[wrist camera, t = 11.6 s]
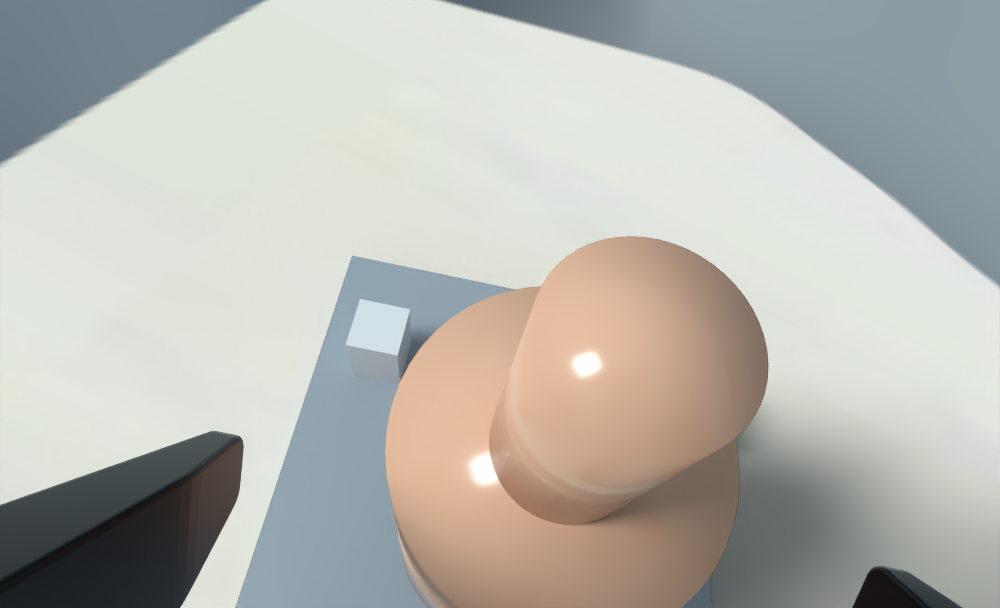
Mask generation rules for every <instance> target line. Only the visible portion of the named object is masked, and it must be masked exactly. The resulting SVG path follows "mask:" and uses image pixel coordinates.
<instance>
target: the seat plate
mask: <svg viewBox="0 0 1000 608" xmlns="http://www.w3.org/2000/svg"><path fill="white" fill-rule="evenodd" d="M512 290H515V289H510V288H505V287H500V286H496V285H491V284H486V283H481V282H476V281H472V280H467V279H462V278H457V277H452V276H447V275H443V274H438V273H433V272H428V271H423V270H419V269H414V268H409V267H404V266H399V265H394V264H390V263H385V262H380V261H375V260H370V259H366V258H361V257H356V256H352V258H351V261H350V264H349V267H348V270H347V273H346V276H345V279H344V282H343V285H342V288H341V291H340V294H339V297H338V300H337V303H336V306H335V309H334V312H333V315H332V318H331V321H330V324H329V327H328V330H327V333H326V336H325V339H324V342H323V345H322V348H321V351H320V354H319V357H318V360H317V363H316V366H315V369H314V372H313V375H312V378H311V381H310V384H309V387H308V390H307V393H306V396H305V400H304V403H303V406H302V409H301V412H300V415H299V418H298V421H297V424H296V427H295V430H294V433H293V436H292V439H291V442H290V445H289V448H288V451H287V454H286V457H285V460H284V463H283V466H282V469H281V472H280V475H279V478H278V481H277V484H276V487H275V490H274V493H273V496H272V499H271V502H270V505H269V508H268V511H267V514H266V517H265V520H264V523H263V526H262V529H261V532H260V535H259V538H258V541H257V544H256V547H255V550H254V553H253V556H252V559H251V562H250V565H249V568H248V571H247V574H246V577H245V580H244V583H243V586H242V589H241V592H240V595H239V598H238V601H237V604H236V607H235V608H428V607H427V606H426V605H425V604H424V603H423V601H422V600H421V599H420V597H419V596H418V594H417V593H416V591H415V590H414V588H413V586H412V584H411V582H410V580H409V578H408V575H407V572H406V569H405V566H404V562H403V557H402V552H401V547H400V542H399V537H398V532H397V526H396V521H395V516H394V511H393V506H392V501H391V496H390V490H389V485H388V480H387V473H386V456H385V448H386V434H387V425H388V420H389V416H390V411H391V406H392V403H393V400H394V397H395V394H396V392H397V389H398V386H399V383H400V381H401V379H402V377H403V375H404V374H405V372H406V370H407V368H408V366H409V364H410V362H411V361H412V360H413V358H414V357H415V355H416V354H417V352H418V351H419V350H420V348H421V347H422V346H423V344H424V343H425V342H426V341H427V340H428V339H429V338H430V337H431V336H432V335H433V334H434V332H435V331H436V330H438V329H439V328H440V327H441V326H442V325H444V324H445V323H446V322H447V321H448V320H449V319H451V318H452V317H453V316H455V315H457V314H458V313H460V312H461V311H463V310H464V309H466V308H468V307H469V306H471V305H473V304H475V303H478V302H480V301H482V300H484V299H486V298H488V297H491V296H495V295H498V294H501V293H504V292H507V291H512ZM710 592H711V575H710V577H709V578H708V579H707V581H706V582H705V583H704V585H703V586H702V588H701V589H700V590H699V591H698V592H697V593H696V594H695V595H694V596H693V597H692V598H691V599H690V600H689V601H688V602H687V603H686V604H685V605H684V606H683V607H682V608H710Z"/></svg>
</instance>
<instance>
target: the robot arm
mask: <svg viewBox="0 0 1000 608" xmlns="http://www.w3.org/2000/svg"><path fill="white" fill-rule="evenodd" d="M243 448H244V445H243V440H242V438H241V437H240V436H237V435H233V434H228V433H223V432H218V431H211V432H207V433H205V434H202V435H199V436H196V437H193V438H190V439H187V440H185V441H182V442H179V443H176V444H173V445H170V446H167V447H165V448H162V449H159V450H156V451H153V452H150V453H147V454H145V455H142V456H139V457H136V458H133V459H130V460H127V461H125V462H122V463H119V464H116V465H113V466H110V467H107V468H105V469H102V470H99V471H96V472H93V473H90V474H87V475H85V476H82V477H79V478H76V479H73V480H70V481H67V482H64V483H62V484H59V485H56V486H53V487H50V488H47V489H44V490H42V491H39V492H36V493H33V494H30V495H27V496H24V497H22V498H19V499H16V500H13V501H10V502H7V503H4V504H2V505H0V608H180V607H181V605H182V604H183V602H184V601H185V599H186V597H187V595H188V593H189V591H190V590H191V588H192V586H193V584H194V582H195V580H196V578H197V576H198V574H199V573H200V571H201V569H202V567H203V565H204V563H205V561H206V559H207V557H208V555H209V553H210V551H211V549H212V548H213V546H214V544H215V542H216V540H217V538H218V536H219V534H220V532H221V530H222V528H223V526H224V524H225V523H226V521H227V519H228V517H229V515H230V513H231V511H232V509H233V507H234V505H235V503H236V500H237V497H238V494H239V490H240V481H241V470H242V459H243ZM852 608H962V607H961V606H959V605H958V604H956V603H955V602H953V601H952V600H950V599H949V598H947V597H945V596H944V595H942V594H941V593H939V592H938V591H936V590H935V589H933V588H932V587H930V586H929V585H927V584H926V583H924V582H923V581H921V580H919V579H918V578H916V577H915V576H913V575H912V574H910V573H908V572H906V571H903V570H899V569H894V568H889V567H884V566H876V567H874V568H872V569H871V570H870V571H869V573H868V574H867V577H866V579H865V581H864V583H863V585H862V588H861V590H860V592H859V594H858V596H857V598H856V601H855V603H854V605H853V607H852Z"/></svg>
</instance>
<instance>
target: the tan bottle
mask: <svg viewBox="0 0 1000 608" xmlns="http://www.w3.org/2000/svg"><path fill="white" fill-rule="evenodd" d="M767 380H768V354H767V347H766V343H765V338H764V335H763V332H762V329H761V326H760V323H759V321H758V319H757V317H756V315H755V313H754V311H753V309H752V307H751V306H750V304H749V302H748V301H747V299H746V298H745V296H744V295H743V294H742V293H741V291H740V290H739V289H738V288H737V286H736V285H735V284H734V283H733V282H732V281H731V280H730V279H729V278H728V277H727V276H726V275H725V274H724V273H723V272H722V271H720V270H719V269H718V268H717V267H716V266H714V265H713V264H712V263H710V262H709V261H707V260H706V259H704V258H703V257H701V256H699V255H697V254H695V253H694V252H692V251H690V250H688V249H686V248H683V247H681V246H678V245H676V244H673V243H669V242H666V241H662V240H659V239H653V238H647V237H633V236H628V237H615V238H609V239H604V240H600V241H597V242H594V243H591V244H588V245H586V246H584V247H582V248H580V249H578V250H576V251H575V252H573V253H571V254H570V255H568V256H567V257H566V258H564V259H563V260H562V261H561V262H560V263H559V264H558V265H557V266H556V267H555V268H554V269H553V270H552V271H551V273H550V274H549V275H548V276H547V278H546V279H545V281H544V283H543V284H542V286H541V287H528V288H522V289H517V290H512V291H507V292H504V293H501V294H498V295H495V296H491V297H488V298H486V299H484V300H482V301H480V302H478V303H475V304H473V305H471V306H469V307H468V308H466V309H464V310H463V311H461V312H460V313H458V314H457V315H455V316H453V317H452V318H451V319H449V320H448V321H447V322H446V323H445V324H444V325H442V326H441V327H440V328H439V329H438V330H436V331H435V332H434V334H433V335H432V336H431V337H430V338H429V339H428V340H427V341H426V342H425V343H424V344H423V346H422V347H421V348H420V350H419V351H418V352H417V354H416V355H415V357H414V358H413V360H412V361H411V362H410V364H409V366H408V368H407V370H406V372H405V374H404V375H403V377H402V379H401V381H400V383H399V386H398V389H397V392H396V394H395V397H394V400H393V403H392V406H391V411H390V416H389V420H388V425H387V434H386V448H385V456H386V473H387V480H388V485H389V490H390V496H391V501H392V506H393V511H394V516H395V521H396V526H397V532H398V537H399V542H400V547H401V552H402V557H403V562H404V566H405V569H406V572H407V575H408V578H409V580H410V582H411V584H412V586H413V588H414V590H415V591H416V593H417V594H418V596H419V597H420V599H421V600H422V601H423V603H424V604H425V605H426V606H427V607H428V608H682V607H683V606H684V605H685V604H686V603H687V602H688V601H689V600H690V599H691V598H692V597H693V596H694V595H695V594H696V593H697V592H698V591H699V590H700V589H701V588H702V586H703V585H704V583H705V582H706V581H707V579H708V578H709V577H710V575H711V574H712V573H713V571H714V570H715V568H716V566H717V564H718V562H719V560H720V558H721V557H722V555H723V553H724V551H725V549H726V546H727V543H728V540H729V538H730V535H731V532H732V529H733V526H734V521H735V516H736V512H737V507H738V498H739V485H740V476H739V458H738V452H737V447H736V441H735V438H736V437H737V436H738V435H739V434H741V433H742V432H743V431H744V430H745V428H746V427H747V426H748V425H749V423H750V422H751V421H752V420H753V418H754V416H755V414H756V413H757V411H758V409H759V407H760V405H761V402H762V400H763V397H764V394H765V390H766V385H767Z"/></svg>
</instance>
